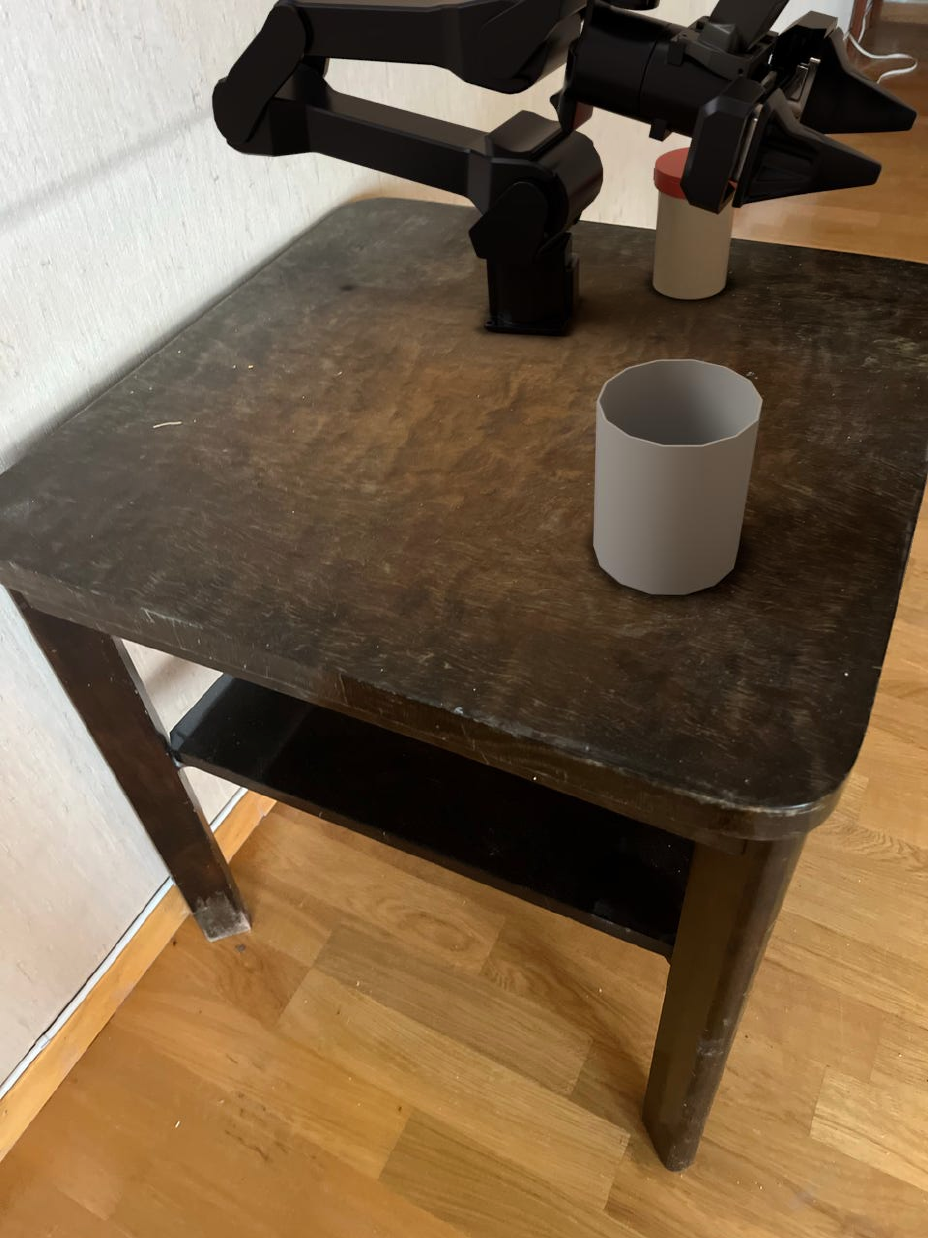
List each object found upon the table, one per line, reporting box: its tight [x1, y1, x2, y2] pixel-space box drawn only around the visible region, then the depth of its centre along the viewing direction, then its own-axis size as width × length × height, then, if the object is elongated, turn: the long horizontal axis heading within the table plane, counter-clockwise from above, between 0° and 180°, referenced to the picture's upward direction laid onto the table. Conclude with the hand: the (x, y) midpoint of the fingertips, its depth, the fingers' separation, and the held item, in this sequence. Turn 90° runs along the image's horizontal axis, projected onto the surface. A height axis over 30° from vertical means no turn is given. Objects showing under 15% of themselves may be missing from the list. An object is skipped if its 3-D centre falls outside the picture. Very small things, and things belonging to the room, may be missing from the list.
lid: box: [652, 146, 738, 199], centre depth 73 cm, size 7×7×2 cm
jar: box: [652, 190, 736, 300], centre depth 76 cm, size 6×6×9 cm
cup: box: [592, 358, 764, 596], centre depth 53 cm, size 8×8×10 cm
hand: (898, 146), depth 57 cm, fingers open, 9 cm apart
